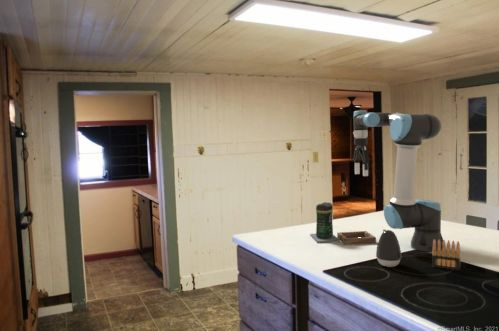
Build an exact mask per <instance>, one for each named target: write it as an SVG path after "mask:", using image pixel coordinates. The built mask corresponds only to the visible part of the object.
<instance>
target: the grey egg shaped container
mask: <svg viewBox="0 0 499 331" xmlns="http://www.w3.org/2000/svg"><path fill="white" fill-rule="evenodd" d="M382 231H383V232H382V233H381V234H380V236H379V239H378V241H377V242H378V243H377V246H376V253H375V257H376V259H377V262H378V264H380V265H381V266H383V267H385V266H386V268H394V267H396V266H398V265H399V264H400V262H401V259H402V251H401V247H400V242H399V240H398V237H397V235H396V233H395V232H394V231H392V230H390V229H389V230H388V229H387V230H386V229H383V230H382Z"/></svg>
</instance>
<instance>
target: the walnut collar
mask: <svg viewBox="0 0 499 331" xmlns="http://www.w3.org/2000/svg"><path fill="white" fill-rule="evenodd" d="M336 233H337V234H336V237H337V238H338V239H339V240H340V242H342V243H343V244H344V245H345V246H350V245H366V244H370V245H371V244H376V243H377V237H376V236H375V235H373V234H371V233H370V232H368V231H367V230H364V231H363V230H362V231H361V230H359V231H343V232H341V231H339V232H336ZM358 237H361V238H358Z"/></svg>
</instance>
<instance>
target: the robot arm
mask: <svg viewBox="0 0 499 331" xmlns="http://www.w3.org/2000/svg"><path fill="white" fill-rule="evenodd" d="M352 119H353V132H352V134H353V137H354V138H353V144H354V145H355V146H354V152H353V158H352V162H354V175H360V174H361V173H360V172H361V168H360V165H361V164H360V163H361V161H360V159H361V160H362V176H363V177H368V176H369V164H370V157H369V151H368V146H367V145H368V143H369V141H368V136H369V135H368V134H369V133H368V130H369V129H368V128H371V127H372V128H373V127H390V128H389V135H390V139H391V140H393V143H394V145H395V147H397V149H396V162H395V173H394V174H395V175H394V187H393V188H394V190H393V196H392V197H391V198H390V199H389V204H386V205H385V207H384V208H383V216H384V219H385V222H386V224H387V225H388V227H390V228H391V229H394V230H397V229H398V230H403V229H412V228H414V231H413V235H412V238H411V240H410V247H411V248H412V249H414V250H417V251H422V252H432V248H433V240H434V239H435V241H436V249H437V246H438V240H439V239H440V242H441V252H442V243H443V240H444V238H443V234H442V231H441V229H442V228H441V227H442V226H441V225H442V223H441V222H442V221H441V220H442V213H441V212H442V206H441V203H440V202H438V201H436V200H430V199H424V198H423V199H422V198H415V199H414V192H415V190H414V189H415V179H416V170H417V169H416V167H417V155H418V149H419V147H421V146H422V140H431V139H433V138H435V137H437V136H438V135H439V134H440V132H441V130H442V122H441V120H440V118H439V117H438V116H436V115H434V114H430V113H422V114H421V113H417V114H410V113H409V114H407V113H405V114H404V113H400V112H396V111H392V112H391V111H390V112H368V111H367V110H365V109H363V110H355V111H353V118H352Z"/></svg>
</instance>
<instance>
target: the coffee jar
mask: <svg viewBox="0 0 499 331" xmlns="http://www.w3.org/2000/svg"><path fill="white" fill-rule="evenodd" d="M315 207H316V208H315V212H316V226H315V228H316V229H315V234H316V236H317V237H319V238H322V239H323V238H330V237H332V236H333V235H334V228H333V210H334V208H333V204H332V203H331V202H326V201H324V202H322V203H318V204H317V205H315Z"/></svg>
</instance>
